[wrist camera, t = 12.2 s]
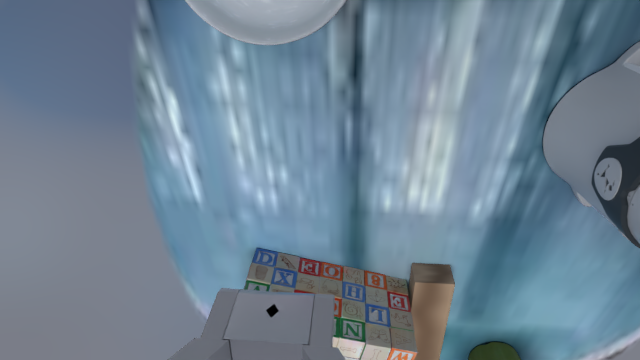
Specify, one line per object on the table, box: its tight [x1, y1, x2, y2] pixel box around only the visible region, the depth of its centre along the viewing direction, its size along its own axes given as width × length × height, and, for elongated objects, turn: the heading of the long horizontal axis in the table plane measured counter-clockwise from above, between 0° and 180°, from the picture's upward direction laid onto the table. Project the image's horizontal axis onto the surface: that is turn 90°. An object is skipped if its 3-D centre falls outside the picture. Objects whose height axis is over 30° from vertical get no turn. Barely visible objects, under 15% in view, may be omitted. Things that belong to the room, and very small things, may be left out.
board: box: [408, 263, 455, 360], centre depth 61 cm, size 5×20×4 cm, turn 0°
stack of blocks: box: [244, 248, 417, 360], centre depth 55 cm, size 21×6×12 cm, turn 78°
